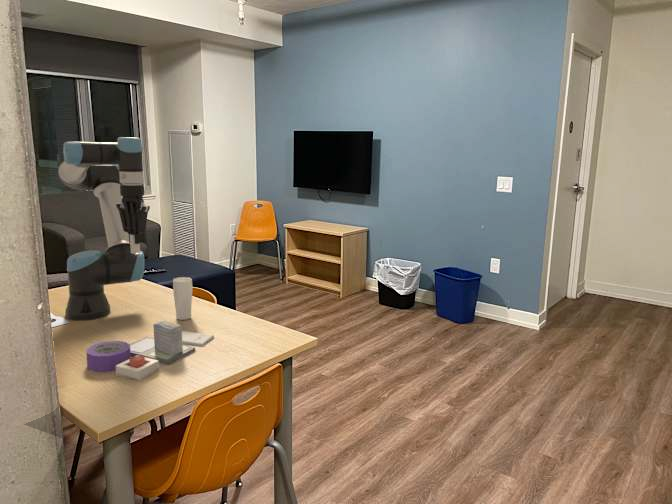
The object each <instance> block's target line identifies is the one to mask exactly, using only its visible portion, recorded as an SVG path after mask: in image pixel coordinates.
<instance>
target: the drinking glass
mask: <svg viewBox="0 0 672 504" xmlns="http://www.w3.org/2000/svg"><path fill="white" fill-rule="evenodd" d="M172 291H173V299H174V307H175V317H176V319H177V320H179V321H187V320H189V319H191V317H192V303H193V302H192V300H193V279H192V278H191V277H188V276H186V277H185V276H182V277H181V276H180V277H176V278H173V279H172Z"/></svg>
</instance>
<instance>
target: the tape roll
mask: <svg viewBox="0 0 672 504" xmlns="http://www.w3.org/2000/svg"><path fill="white" fill-rule="evenodd" d="M129 344H130V343H129V342H126V341H122V340H107V341H102V342H98V343H94V344H91V345H90V346H88V348H86V365H87V369H88V370H90V371H92V372H99V373H106V372H107V373H108V372H114V371H115V372H116V365H118V364H120V363H122V362H124V361H126V360H128V359H130V358H132V356H131V355H130V345H129Z"/></svg>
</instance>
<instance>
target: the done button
mask: <svg viewBox="0 0 672 504" xmlns="http://www.w3.org/2000/svg"><path fill="white" fill-rule="evenodd" d="M143 365H145V358H144V357H143V356H136V357H135V356H131V358H130V366H131V367H135V368H139V367H141V366H143Z"/></svg>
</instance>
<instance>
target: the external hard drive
mask: <svg viewBox="0 0 672 504" xmlns="http://www.w3.org/2000/svg"><path fill="white" fill-rule="evenodd" d="M214 338H215V335H214V334H208V333H207V334H206V333H199V332H193V331H185V330H182V345H187V346H189V345H190V346H197V347H203V346H205V345H206V344H207V343H208V342H210V341H211V340H213V339H214Z"/></svg>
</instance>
